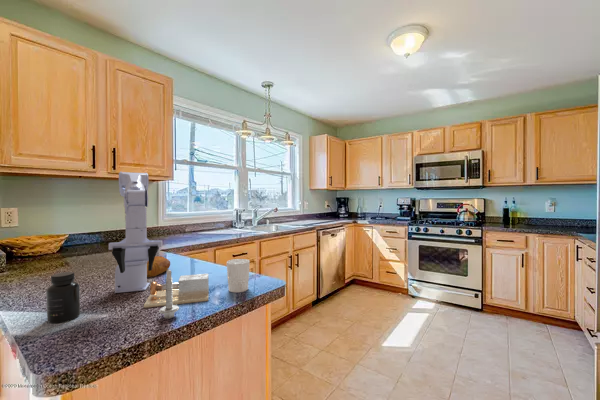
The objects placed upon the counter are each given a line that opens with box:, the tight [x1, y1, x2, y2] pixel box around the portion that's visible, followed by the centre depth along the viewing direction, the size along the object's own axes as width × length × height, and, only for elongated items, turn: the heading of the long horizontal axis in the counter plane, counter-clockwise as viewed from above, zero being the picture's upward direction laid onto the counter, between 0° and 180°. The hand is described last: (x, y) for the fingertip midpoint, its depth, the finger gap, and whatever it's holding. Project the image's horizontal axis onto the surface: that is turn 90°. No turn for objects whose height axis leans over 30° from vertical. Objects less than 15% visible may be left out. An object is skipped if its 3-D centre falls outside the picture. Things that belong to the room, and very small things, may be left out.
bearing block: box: [143, 273, 210, 309], centre depth 91 cm, size 18×14×6 cm
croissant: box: [147, 255, 171, 278], centre depth 121 cm, size 14×16×8 cm
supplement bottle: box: [46, 271, 81, 324], centre depth 75 cm, size 7×7×12 cm
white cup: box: [226, 258, 251, 293], centre depth 98 cm, size 8×8×10 cm
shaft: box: [149, 281, 179, 295], centre depth 90 cm, size 11×4×4 cm, turn 108°
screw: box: [158, 268, 180, 320], centre depth 75 cm, size 13×5×5 cm
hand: (136, 271), depth 87 cm, fingers open, 7 cm apart
